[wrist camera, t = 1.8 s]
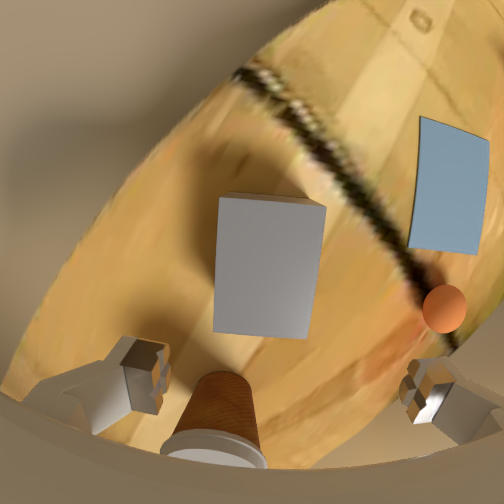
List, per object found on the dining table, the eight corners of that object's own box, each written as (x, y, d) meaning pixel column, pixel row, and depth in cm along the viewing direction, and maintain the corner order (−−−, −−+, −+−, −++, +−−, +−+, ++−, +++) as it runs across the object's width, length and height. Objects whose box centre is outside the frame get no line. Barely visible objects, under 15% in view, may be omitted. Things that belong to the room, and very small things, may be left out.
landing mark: (475, 254, 26) (476, 255, 26) (407, 246, 26) (408, 247, 26) (488, 141, 23) (489, 141, 23) (420, 117, 23) (421, 116, 23)
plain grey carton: (296, 302, 28) (306, 339, 21) (223, 296, 28) (213, 332, 21) (309, 198, 26) (326, 206, 19) (229, 191, 26) (219, 197, 19)
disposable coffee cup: (174, 402, 32) (148, 478, 20) (198, 346, 30) (170, 430, 18) (246, 427, 33) (241, 505, 21) (280, 377, 30) (287, 463, 19)
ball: (443, 319, 28) (465, 340, 24) (409, 320, 28) (430, 343, 24) (455, 279, 27) (480, 295, 22) (421, 277, 27) (445, 294, 22)
